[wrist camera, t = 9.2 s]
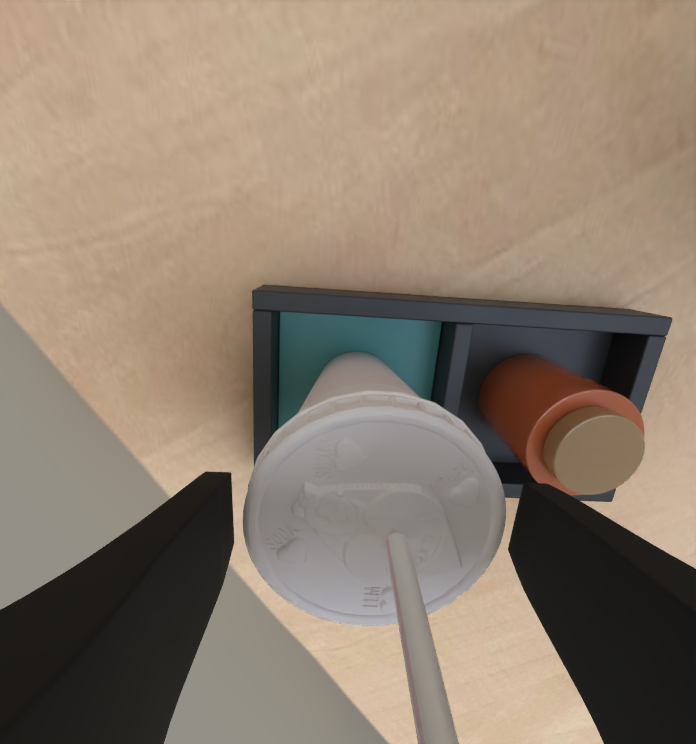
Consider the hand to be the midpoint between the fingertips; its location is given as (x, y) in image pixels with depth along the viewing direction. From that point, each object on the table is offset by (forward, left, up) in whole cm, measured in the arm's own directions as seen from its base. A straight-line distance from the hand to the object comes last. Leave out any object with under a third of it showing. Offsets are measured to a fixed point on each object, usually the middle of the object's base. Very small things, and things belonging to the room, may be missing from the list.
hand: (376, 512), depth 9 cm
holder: (-4, 0, -10) cm, 11 cm away
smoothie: (0, 0, -9) cm, 9 cm away
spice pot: (-8, 0, -9) cm, 12 cm away
